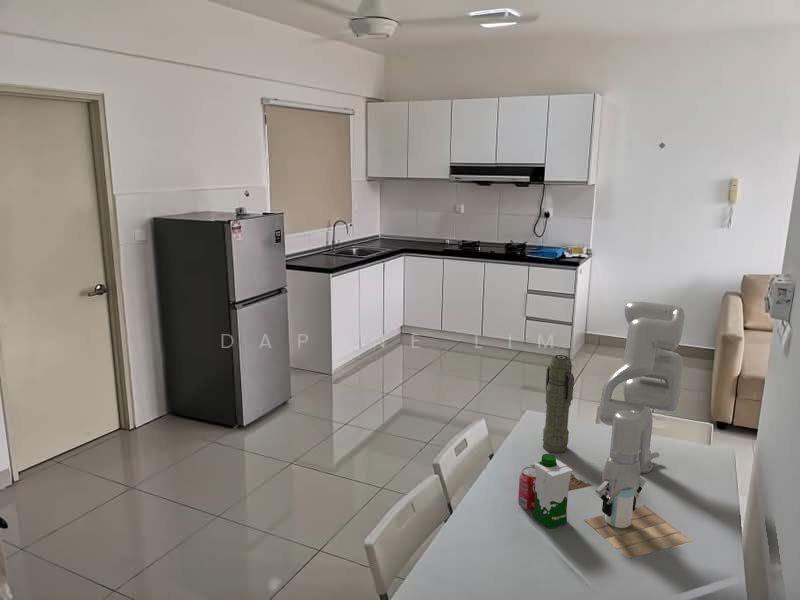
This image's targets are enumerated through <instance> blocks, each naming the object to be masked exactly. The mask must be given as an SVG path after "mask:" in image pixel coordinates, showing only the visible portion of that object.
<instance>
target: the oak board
mask: <svg viewBox="0 0 800 600" xmlns="http://www.w3.org/2000/svg"><path fill="white" fill-rule="evenodd" d="M605 540H606V541H607V542H608V543H609V544H610V545H611V546H613V547H614V548H615V549H616V550H618V551H619V552H620V553H621V554H622V555H623V556H624V557H625V558H627V560H629V559H633V558H635V557H640V556H644V555H647V554H650V553H654V552H659V551H662V550H664V549H669V548H672V547H675V546H679V545H683V544H686V543H690V542H693V540H692V539H691V538H689V537H687V535H685V534H684V533H682V532H681V530H679V529H677V528H676V527H674V526H673V525H671V524H670V523H669V522H666V523H662V524H659V525H655V526H651V527H647V528H643V529H639V530H635V531H632V532H628V533H624V534H620V535H616V536H612V537H608V538H605Z"/></svg>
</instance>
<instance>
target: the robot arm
mask: <svg viewBox="0 0 800 600" xmlns="http://www.w3.org/2000/svg"><path fill="white" fill-rule="evenodd" d="M624 317H625V320H626V322H627V324H628V328H627V335H626V341H625V348H624V354H623V360H622V361H623V362H622V365H621V366H620V367H619V368H618V369H617V370H615V372H613V373H612V374H611V375H610V376H609V377H608V378H607V380H606V381H605V384H604V385H603V388H602V390H601V397H600V402H599V407H598V417H599V418H598V419H600V422H601V423H603V424H604V425H609V426H612V429H611V438H610V449H609V457H607V458H606V461H605V464H604V468H603V471H602V475H601V476H602V477H601V484H600V485H599V486H598V487H597V488H596V489H595V493H596V494H597V495H598V497H599V498H600V499H601V500H602V507H601V511H602V513H604V515H605V514H606V515H607V516H608V517H610V516H611V513H612V504H611V501H612V500H613V498H614V496H617V495H618V494H619V493H620V492H621V490H629V489H631V488H633V489H632V490H633V491H634V501H633V509H632V511H634V510H635V507H637V506H636V503H637V498H638V497H639V495H640V493H641V491H642V490H643V488H644V486H645V484H646V480H644V479H643V478H642V477H641V474H647V473H649V472H651V471H653V467H654V465H653V463H652V460H653V459H656V458H659V457H660V453H659V452H658V451H653V452H651V450H650V449H651V440H652V432H653V422H654V421H653V413H652V412H653V411H652V410H658V411H664V412H673V411H675V410H677V408H678V407H679V406H678V405H679V402H680V395H681V386H682V377H683V365H684V364H683V357H682V356H681V355H680V353H677V352H675V351H673V350H676V349H677V348H678V347H679V346H680V343H681V341H682V340H681V339H682V336H683V330H684V325H685V311H684V309H683V308H682V307H680V306H679V305H673V304H663V303H656V302H645V301H630V302H628V303H627V304H626V305H625V307H624ZM663 349H664V350H663ZM670 350H671V351H670ZM656 379H658V380H656ZM662 380H663V381H662ZM622 383H623V385H622V398H623V399H622V400H619V399H614V398H613V399H612V395H613V392H614V390H615V389H616V388H617V386H619V385H620V384H622ZM608 493H609V494H610V496H609V497H608V498H607V495H608Z"/></svg>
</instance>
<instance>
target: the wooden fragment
mask: <svg viewBox="0 0 800 600" xmlns="http://www.w3.org/2000/svg"><path fill="white" fill-rule="evenodd" d="M530 467H535V465H534V464H531V465H530ZM592 486H593V484H591V483H588V482H587V483H586V482H585V481H583V480H582V479H578V478H577V477H575V475H574V474H573V473H572V475H571V478H570V482H569V487H568V492H569V491H570V492H571V491H575V490H580V489H583V488H589V487H592Z"/></svg>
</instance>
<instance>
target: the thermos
mask: <svg viewBox="0 0 800 600" xmlns="http://www.w3.org/2000/svg"><path fill="white" fill-rule="evenodd" d="M572 368H573V365H572V360H571V358H570V357H569V356H567V355H563V354H556V355H554V356H552V358H551V360H550V362H549V365H548V366H547V368H546V375H545V377H546V378H545V392H546V393H545V404H546V412H545V413H546V414H545V425H544V428H543V431H542V441H543V442H542V443H543V444H542V449H543V450H544V451H546V452H548V453H550V454H564V453H566V452H567V451H568V444H569V434H570V433H569V429H568V426H569V413H570V407H571V405H572V401H573V399H574V397H573V394H574V386H575V385H574V384H575V376H574V373H572Z"/></svg>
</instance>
